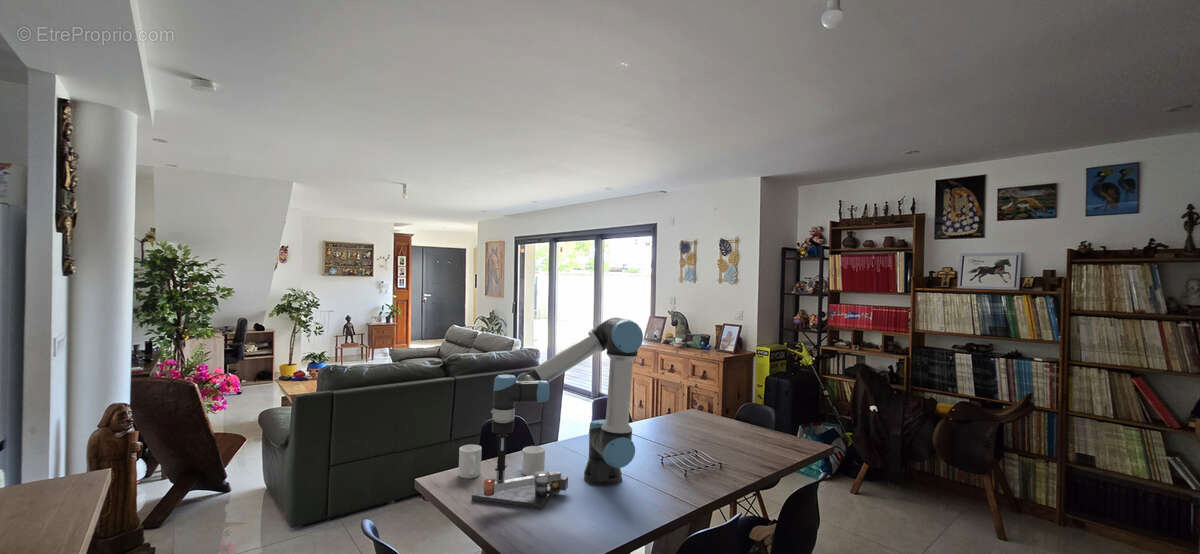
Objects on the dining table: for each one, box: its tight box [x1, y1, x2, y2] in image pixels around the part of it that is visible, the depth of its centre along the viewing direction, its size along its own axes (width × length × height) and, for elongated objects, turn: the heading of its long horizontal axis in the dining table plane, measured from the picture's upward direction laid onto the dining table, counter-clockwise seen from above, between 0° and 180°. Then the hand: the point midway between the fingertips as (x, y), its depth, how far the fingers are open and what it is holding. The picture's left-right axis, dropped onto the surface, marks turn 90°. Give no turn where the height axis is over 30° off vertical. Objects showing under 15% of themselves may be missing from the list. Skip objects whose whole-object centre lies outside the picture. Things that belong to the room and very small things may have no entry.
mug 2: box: [519, 445, 546, 476], centre depth 202 cm, size 12×9×9 cm
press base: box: [471, 475, 569, 511], centre depth 177 cm, size 30×16×6 cm, turn 77°
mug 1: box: [458, 444, 482, 479], centre depth 195 cm, size 9×12×11 cm
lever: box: [483, 470, 562, 496], centre depth 172 cm, size 28×6×4 cm, turn 119°
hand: (499, 487), depth 171 cm, fingers closed
